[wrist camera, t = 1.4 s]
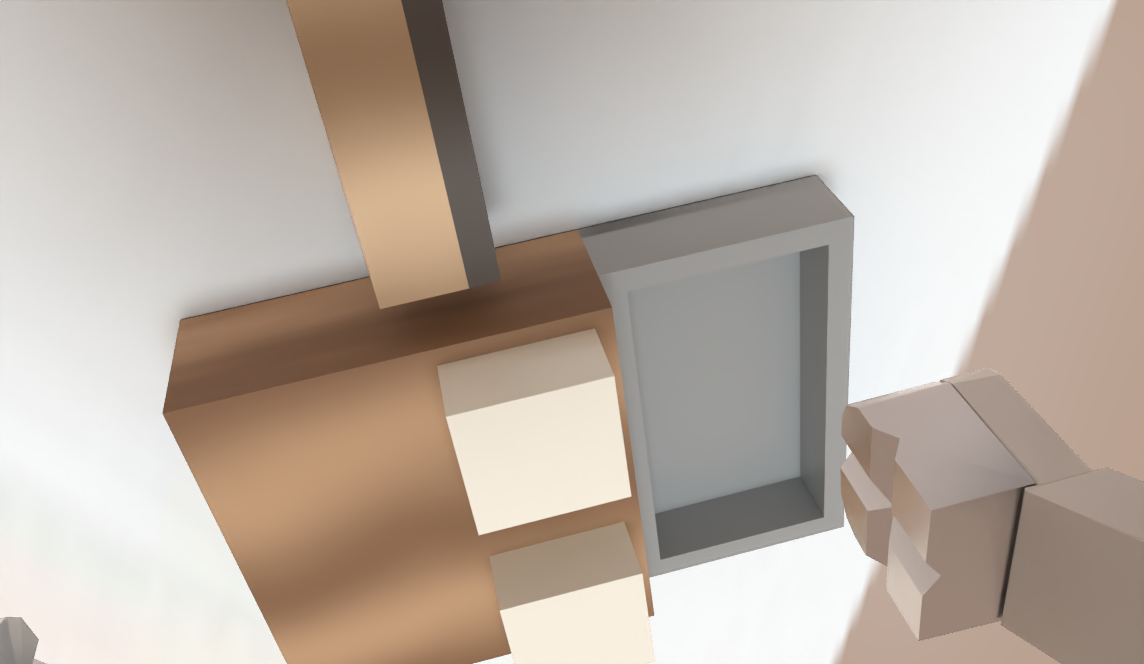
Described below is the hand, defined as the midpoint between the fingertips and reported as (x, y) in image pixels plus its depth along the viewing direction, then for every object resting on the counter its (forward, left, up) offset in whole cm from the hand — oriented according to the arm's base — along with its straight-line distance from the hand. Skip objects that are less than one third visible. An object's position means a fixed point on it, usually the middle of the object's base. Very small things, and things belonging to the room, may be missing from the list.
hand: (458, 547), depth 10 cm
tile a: (+9, +2, -13) cm, 16 cm away
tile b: (+16, +2, -13) cm, 21 cm away
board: (+13, -1, -17) cm, 21 cm away
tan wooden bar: (0, 0, -17) cm, 17 cm away
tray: (+13, +8, -17) cm, 23 cm away
